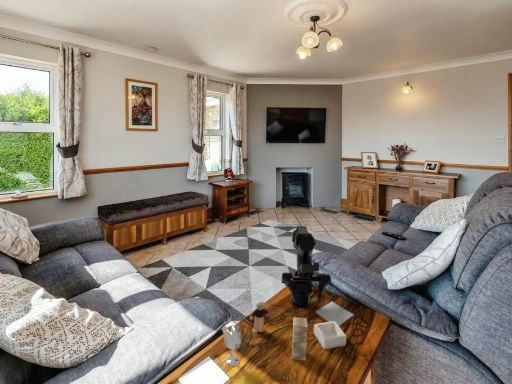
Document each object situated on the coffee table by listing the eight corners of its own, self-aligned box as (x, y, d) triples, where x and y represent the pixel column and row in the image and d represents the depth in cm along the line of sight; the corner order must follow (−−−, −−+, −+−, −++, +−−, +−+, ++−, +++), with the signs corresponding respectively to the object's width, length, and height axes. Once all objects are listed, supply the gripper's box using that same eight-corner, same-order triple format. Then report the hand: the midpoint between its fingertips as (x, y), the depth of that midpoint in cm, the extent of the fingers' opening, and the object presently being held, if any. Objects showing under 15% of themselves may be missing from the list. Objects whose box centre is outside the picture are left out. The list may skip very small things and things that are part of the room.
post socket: (324, 349, 103) (324, 339, 102) (313, 333, 111) (314, 324, 110) (345, 345, 105) (346, 335, 104) (333, 330, 113) (334, 321, 112)
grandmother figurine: (253, 336, 109) (253, 306, 106) (248, 330, 112) (249, 301, 109) (270, 330, 112) (271, 301, 110) (265, 324, 115) (266, 296, 113)
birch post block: (292, 359, 98) (293, 325, 95) (292, 349, 102) (293, 317, 100) (305, 360, 97) (307, 326, 95) (304, 350, 102) (306, 318, 99)
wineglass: (224, 355, 99) (224, 324, 97) (241, 354, 100) (241, 323, 97) (224, 368, 94) (224, 336, 91) (242, 367, 94) (242, 335, 92)
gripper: (282, 253, 110) (283, 294, 101) (331, 254, 109) (336, 297, 101) (281, 263, 119) (281, 302, 110) (326, 265, 118) (330, 304, 110)
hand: (306, 301), depth 108 cm, fingers open, 9 cm apart
